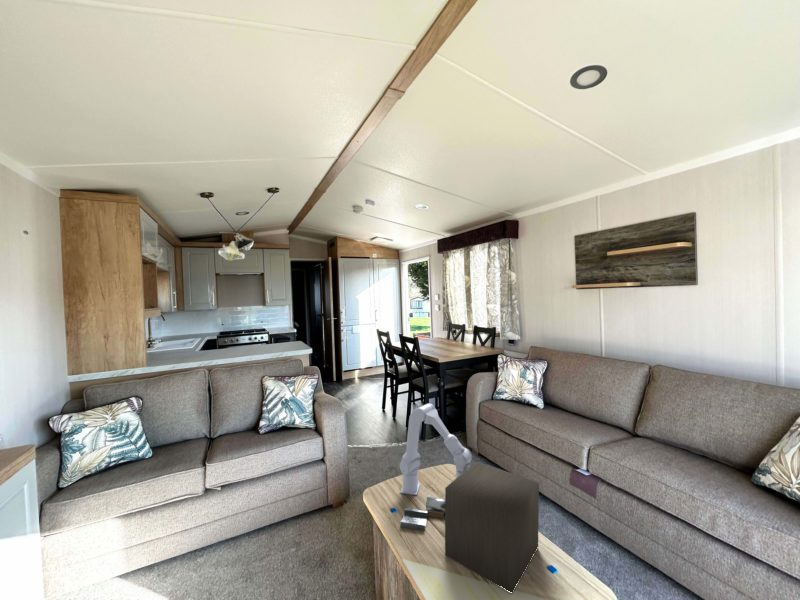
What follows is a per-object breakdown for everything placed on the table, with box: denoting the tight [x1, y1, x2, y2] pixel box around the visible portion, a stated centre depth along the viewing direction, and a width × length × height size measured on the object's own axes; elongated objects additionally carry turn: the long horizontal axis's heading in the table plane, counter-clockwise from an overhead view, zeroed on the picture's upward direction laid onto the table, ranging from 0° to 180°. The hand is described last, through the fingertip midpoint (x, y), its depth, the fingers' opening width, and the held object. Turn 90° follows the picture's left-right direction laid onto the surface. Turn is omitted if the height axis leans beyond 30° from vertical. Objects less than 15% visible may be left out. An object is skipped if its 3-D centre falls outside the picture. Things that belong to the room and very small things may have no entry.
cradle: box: [399, 507, 429, 532], centre depth 141 cm, size 9×10×2 cm
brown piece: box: [427, 510, 444, 519], centre depth 148 cm, size 8×7×2 cm
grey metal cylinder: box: [425, 496, 445, 515], centre depth 148 cm, size 11×5×5 cm, turn 77°
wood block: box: [444, 461, 540, 593], centre depth 125 cm, size 25×25×25 cm
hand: (462, 510), depth 146 cm, fingers closed
